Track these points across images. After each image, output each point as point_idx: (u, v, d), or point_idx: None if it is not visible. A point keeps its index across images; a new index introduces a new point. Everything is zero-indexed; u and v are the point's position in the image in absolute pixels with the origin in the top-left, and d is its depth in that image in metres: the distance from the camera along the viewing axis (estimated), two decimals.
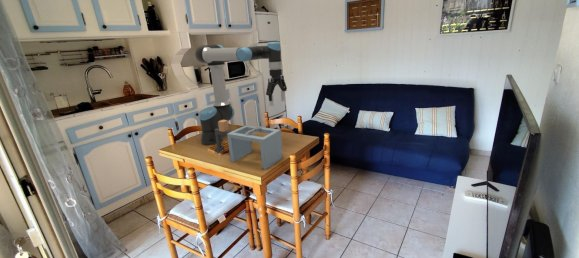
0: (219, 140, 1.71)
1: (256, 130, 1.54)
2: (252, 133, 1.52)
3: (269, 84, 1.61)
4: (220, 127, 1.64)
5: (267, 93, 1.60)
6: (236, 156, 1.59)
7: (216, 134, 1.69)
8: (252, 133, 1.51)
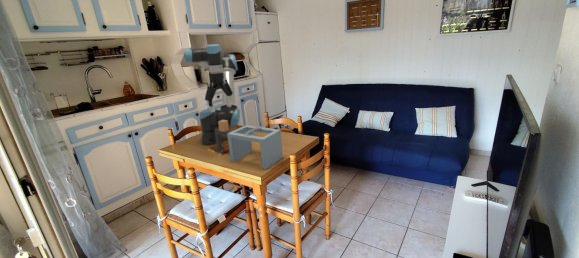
0: (219, 140, 1.71)
1: (256, 130, 1.54)
2: (252, 133, 1.52)
3: (208, 89, 1.52)
4: (220, 127, 1.64)
5: (206, 98, 1.51)
6: (236, 156, 1.59)
7: (216, 134, 1.69)
8: (252, 133, 1.51)
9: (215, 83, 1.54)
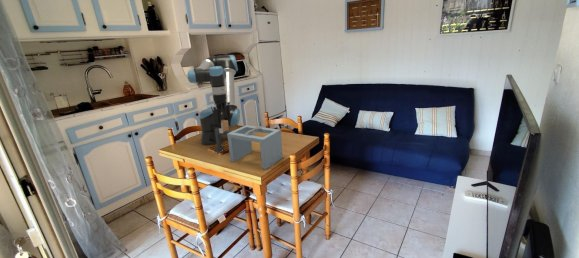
0: (219, 140, 1.71)
1: (256, 130, 1.54)
2: (252, 133, 1.52)
3: (214, 112, 1.58)
4: None
5: (215, 121, 1.60)
6: (236, 156, 1.59)
7: (216, 134, 1.69)
8: (252, 133, 1.51)
9: (218, 104, 1.58)
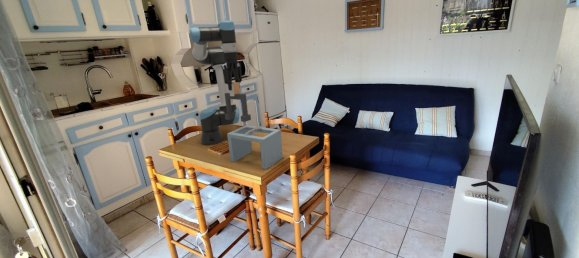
0: (229, 105, 1.57)
1: (256, 130, 1.54)
2: (252, 133, 1.52)
3: (224, 72, 1.44)
4: None
5: (225, 82, 1.46)
6: (236, 156, 1.59)
7: (226, 99, 1.56)
8: (252, 133, 1.51)
9: (229, 63, 1.45)
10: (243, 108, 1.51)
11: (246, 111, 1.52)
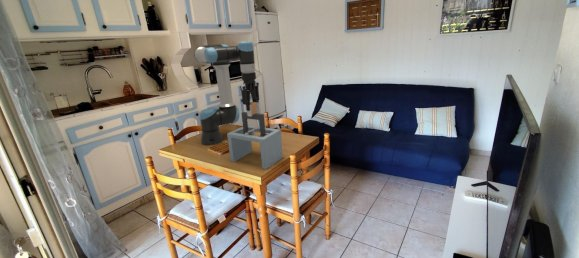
0: (246, 125, 1.55)
1: (256, 130, 1.54)
2: (252, 133, 1.52)
3: (243, 93, 1.42)
4: None
5: (244, 103, 1.44)
6: (236, 156, 1.59)
7: (243, 118, 1.54)
8: (252, 133, 1.51)
9: (247, 83, 1.43)
10: (261, 128, 1.50)
11: (264, 131, 1.50)
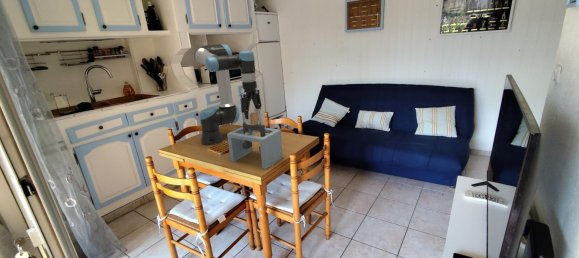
0: None
1: (256, 130, 1.54)
2: (252, 133, 1.52)
3: (243, 101, 1.43)
4: None
5: (242, 111, 1.44)
6: (236, 156, 1.59)
7: (244, 128, 1.56)
8: (252, 133, 1.51)
9: (248, 92, 1.44)
10: None
11: None
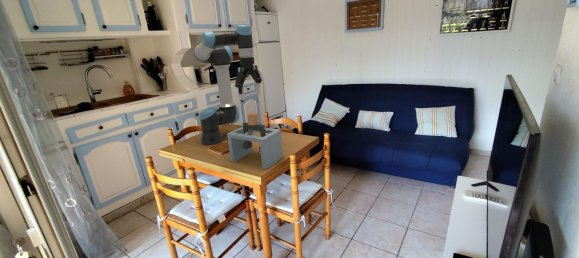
0: None
1: (256, 130, 1.54)
2: (252, 133, 1.52)
3: (238, 74, 1.38)
4: (249, 120, 1.51)
5: (236, 85, 1.38)
6: (236, 156, 1.59)
7: (244, 128, 1.56)
8: (252, 133, 1.51)
9: (245, 68, 1.41)
10: None
11: None
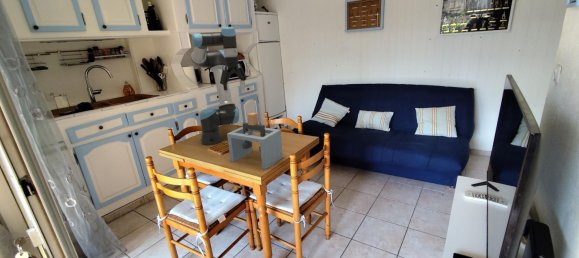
0: None
1: (256, 130, 1.54)
2: (252, 133, 1.52)
3: (223, 72, 1.51)
4: (249, 120, 1.51)
5: (221, 82, 1.50)
6: (236, 156, 1.59)
7: (244, 128, 1.56)
8: (252, 133, 1.51)
9: (230, 67, 1.53)
10: None
11: None
